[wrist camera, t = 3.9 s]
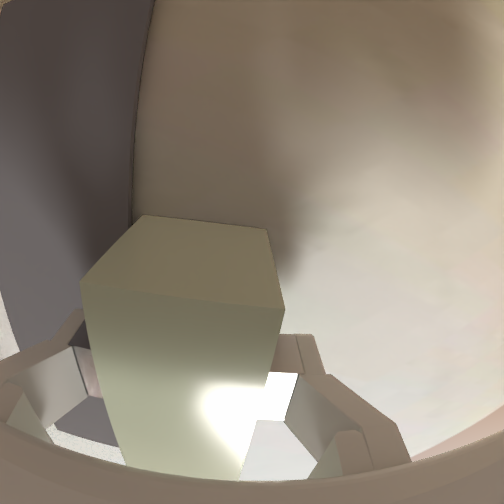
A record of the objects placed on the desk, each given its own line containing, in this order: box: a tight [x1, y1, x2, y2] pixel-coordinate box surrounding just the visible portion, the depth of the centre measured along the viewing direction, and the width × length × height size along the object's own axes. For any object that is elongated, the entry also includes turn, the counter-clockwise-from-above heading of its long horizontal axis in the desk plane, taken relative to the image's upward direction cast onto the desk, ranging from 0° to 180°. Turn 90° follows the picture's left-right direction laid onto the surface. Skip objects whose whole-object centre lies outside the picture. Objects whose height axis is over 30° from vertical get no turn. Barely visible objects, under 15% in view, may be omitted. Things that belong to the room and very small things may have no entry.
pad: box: [0, 0, 155, 447], centre depth 9 cm, size 6×20×1 cm, turn 173°
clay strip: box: [79, 215, 285, 480], centre depth 10 cm, size 16×4×4 cm, turn 172°
